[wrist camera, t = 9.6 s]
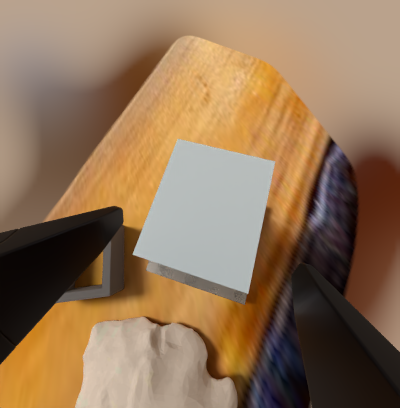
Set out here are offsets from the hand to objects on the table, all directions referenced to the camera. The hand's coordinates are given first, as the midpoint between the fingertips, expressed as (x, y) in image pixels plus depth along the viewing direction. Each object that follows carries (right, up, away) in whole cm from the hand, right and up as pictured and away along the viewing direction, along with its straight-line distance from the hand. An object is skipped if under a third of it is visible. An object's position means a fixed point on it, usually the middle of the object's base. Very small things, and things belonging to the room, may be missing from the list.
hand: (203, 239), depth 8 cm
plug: (+1, -2, +9) cm, 9 cm away
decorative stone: (-4, -14, +7) cm, 17 cm away
